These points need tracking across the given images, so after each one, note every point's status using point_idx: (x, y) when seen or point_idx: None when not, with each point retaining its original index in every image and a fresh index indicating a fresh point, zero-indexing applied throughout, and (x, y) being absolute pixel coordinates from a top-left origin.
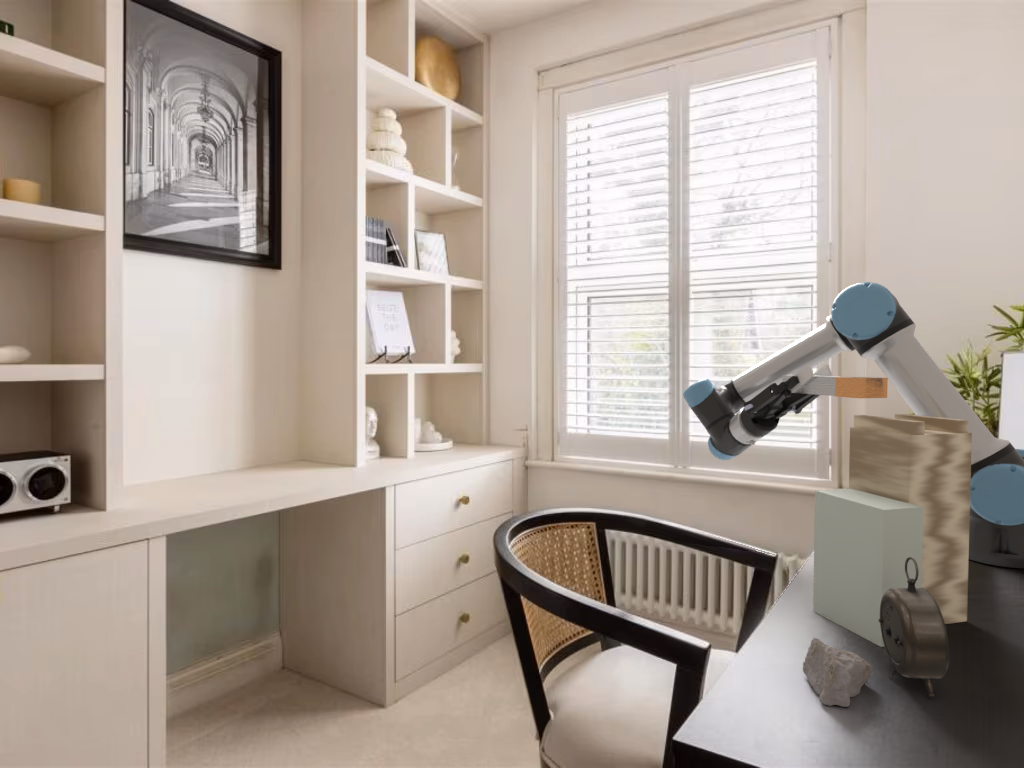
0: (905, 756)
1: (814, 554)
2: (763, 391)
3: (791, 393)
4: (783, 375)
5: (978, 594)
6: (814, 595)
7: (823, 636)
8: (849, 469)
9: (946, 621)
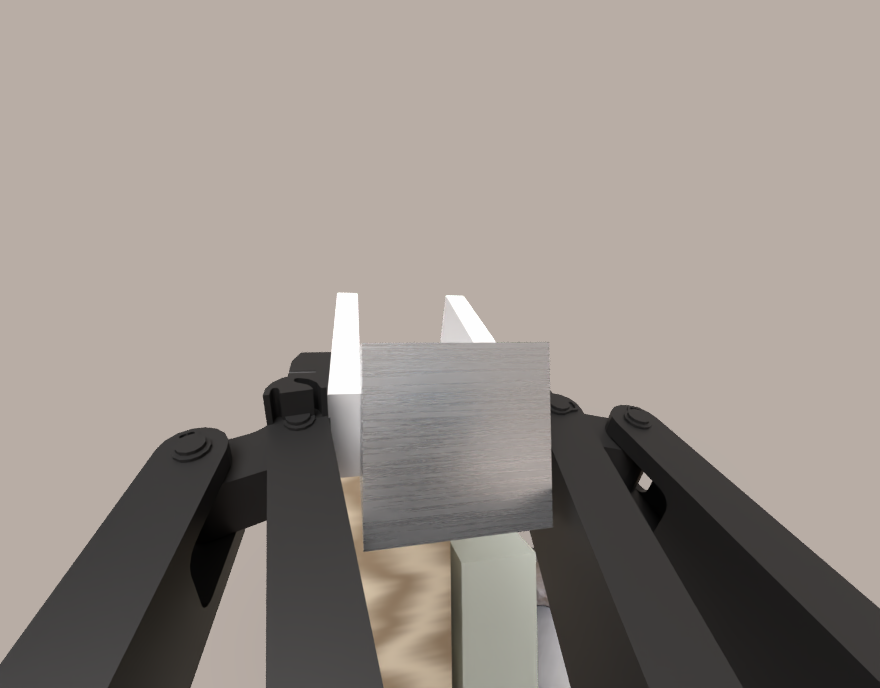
0: (534, 549)
1: (537, 670)
2: (754, 514)
3: (373, 646)
4: (540, 347)
5: None
6: None
7: (544, 683)
8: (449, 544)
9: None
